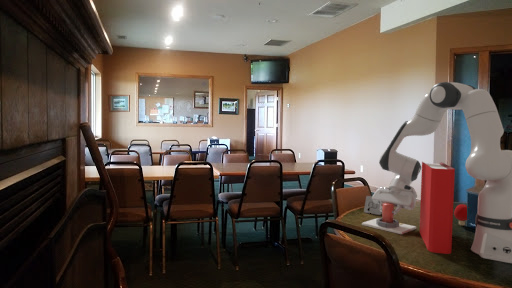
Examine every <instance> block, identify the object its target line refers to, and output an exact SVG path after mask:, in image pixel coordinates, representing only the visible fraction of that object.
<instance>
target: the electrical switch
mask: <svg viewBox="0 0 512 288" xmlns="http://www.w3.org/2000/svg"><path fill="white" fill-rule="evenodd" d="M372 196H373V195H366V197H365V202H364V209H363V212H364V213H365V214H370V213H371V215H376V216H381V215H382V212H380V211H379V209H380V204H376V203H374V202H373V200H372Z"/></svg>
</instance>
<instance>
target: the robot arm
mask: <svg viewBox="0 0 512 288" xmlns="http://www.w3.org/2000/svg"><path fill="white" fill-rule="evenodd" d="M447 110H452V111H453V110H454V111H455V110H456V111H458V110H459V111H462V112H463V114H464V118H465V121H466V125H467V128H468V132H469V136H470V144H471V145H470V153H469V155H468V157H467V158H466V160H465V170H466V172H467V174H468V175H469V176H470V177H472V178H473V179H478V180H480V181H486V182H485V183H484V184H485V185H484V186H483V187H482V189H481V190H480V191H479V193H478V195H477V197H478V198H477V213H476V214H475V219H474V225H475V233H474V237H473V242H472V244H471V248H470V250H471V252H473V253H475V254H477V255H479V257H481V258H483V259H487V260H493V261H497V262H503V263H506V264H507V263H508V264H512V150H510V149H501V137H502V136H503V135H504V132H505V130H504V127H503V123H502V121H501V117H500V114H499V111H498V109H497V106H496V104H495V102H494V100H493V97H492V96H491V94H490V93H489V91H487V90H485V89H484V88H483V89H482V88H477V87H475V86H473V85H470V84H464V83H460V82H456V81H455V82H451V81H444V82H443V81H441V82H438V83H436V84H434V85H433V86H432V88H431V89H430V91H429V92H427V93H426V94H425V95H424V96H423V97H422V99H421V101H420V103H419V104H418V106H417V109H416V111H415V113H414V116H413V117H412V118H411V119H409V120H405V121H404V122H403V123H402V124H401V125H400V127H399V129H398V130H397V131H396V134H395V135H394V137H393V139H392V140H391V141H390V143H389V144H388V146H387V148H386V149H385V150H384V151H383V152H382V154H381V155H380V158H379V166H380V167H381V169H382V170H384V171H387V172H391V173H392V174H393V173H394V177H393V178H392V179H391V181H390V184H389V185H388V187H384V186H381V187H378V188H377V189H376V190H375V192H374V193H373V195H371V196H372V200H373V202H374V203H376V204H380V209H379V211H380V212H382V207H383V203H392V204H394V209H393V211H392V214H394V215H397V214H398V213H399V212H400V211H401V210H402V209H405V210H409V211H412V210H413V209H415V207H416V204H417V198H418V194H417V192H416V189H415V188H414V186H412V185H411V184H412V183H413V182H414V181H417V179H418V176H419V174H420V173H421V171H422V164H421V163H420V161H419V160H417V159H415V158H414V157H410V156H407V155H404V154H401V153H400V152H398V151H397V150H398V148H399V147H400V145H401V143H402V141H403V140H404V139H406V137H413V136H415V137H416V136H417V137H419V136H421V137H422V136H429V135H431V134H433V133H435V132H436V131H437V130H438V128H439V125H440V124H441V121H442V119H443V116H444V114H445V112H446V111H447Z"/></svg>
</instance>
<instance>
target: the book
mask: <svg viewBox="0 0 512 288" xmlns="http://www.w3.org/2000/svg"><path fill="white" fill-rule="evenodd" d="M455 170H456V169H455V168H454V167H452V166H450V165H448V164H446V163H444V162H443V161H441V162H439V163H430V162H429V163H425V162H424V161H421V175H420V176H421V182H420V206H419V207H420V209H419V235H420V236H421V239H422V241H423V244H424V245H425V247H426V249H427V251H428V252H430V253H436V254H445V255H449V254H452V245H453V238H452V237H453V220H454V199H455V198H454V197H455V196H454V195H455V193H454V192H455V176H456V175H455V174H456V173H455Z"/></svg>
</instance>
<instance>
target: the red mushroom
mask: <svg viewBox="0 0 512 288" xmlns="http://www.w3.org/2000/svg"><path fill="white" fill-rule="evenodd" d="M453 217H454V218H455V219H456V220H458V225H459V226H461V227H463V226H465V225H466V221H468V220H467V204H463V203H461V204H458V205H456V207H455V209H453Z"/></svg>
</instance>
